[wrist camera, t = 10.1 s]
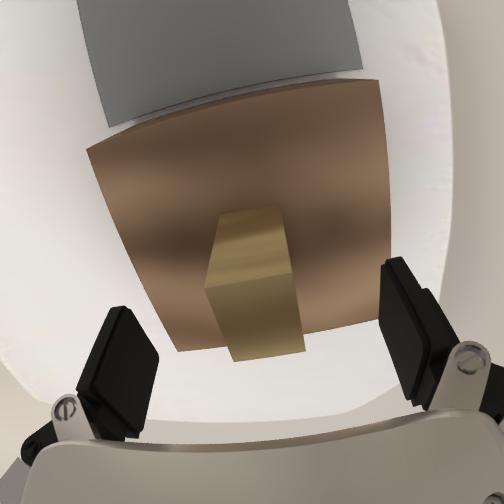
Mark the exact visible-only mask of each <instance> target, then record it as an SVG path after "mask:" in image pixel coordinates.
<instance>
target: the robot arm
mask: <svg viewBox="0 0 504 504" xmlns="http://www.w3.org/2000/svg"><path fill="white" fill-rule="evenodd" d="M378 320H379V326H380V329H381V332H382V334H383V337H384V339H385V342H386V345H387V347H388V350H389V353H390V356H391V358H392V361H393V364H394V367H395V369H396V372H397V375H398V378H399V381H400V384H401V387H402V390H403V393H404V396H405V398H406V400H411V402H412V405H413V407H415V406H418V405H422V408H423V410H425V412H420V413H415V414H410V415H407V416H402V417H397V418H393V419H390V420H385V421H381V422H377V423H373V424H368V425H364V426H360V427H354V428H349V429H344V430H339V431H333V432H328V433H322V434H317V435H310V436H303V437H296V438H289V439H279V440H270V441H261V442H247V443H232V444H201V445H200V444H199V445H198V444H197V445H185V444H183V445H181V444H180V445H179V444H149V443H135V442H125V437H127V438H135V439H138V438H139V434H140V432H141V431H142V430H143V428H144V424H145V419H146V415H147V410H148V406H149V401H150V397H151V393H152V388H153V384H154V380H155V376H156V372H157V367H158V363H159V355H158V353H157V351H156V349H155V348H154V346H153V345H152V343H151V341H150V340H149V338H148V337H147V335H146V333H145V332H144V330H143V329H142V327H141V325H140V324H139V322H138V320H137V319H136V317H135V315H134V314H133V312H132V310H131V309H128V308H127V307H126V306H118V307H112V308H111V309H110V310H109V312H108V314H107V317H106V319H105V321H104V323H103V325H102V327H101V330H100V332H99V334H98V336H97V339H96V341H95V343H94V346H93V348H92V350H91V353H90V355H89V357H88V360H87V362H86V364H85V367H84V369H83V372H82V374H81V377H80V379H79V382H78V384H77V387H76V389H75V390H76V391H77V392H78V394H77V396H76V395H74V394H65V395H63V396H61V397H60V398H59V399H58V400H57V401H56V402H55V403H54V405H53V407H52V412H51V417H52V420H51V421H50V422H49V423H47V424H46V425H45V426H43V427H42V428H40V429H39V430H38V431H36V432H35V433H34V434H32V435H31V436H30V437H28V438H27V439H26V440H25V441H24V443H23V445H22V448H21V458H19V457H18V458H17V459H16V460H15V461H14V463H13V464H12V465H11V466H10V468H9V469H8V470H7V472H6V473H5V474H4V475H3V477H2V478H1V479H0V503H1V504H504V367H501V366H499V365H496V364H493V363H491V357H490V354H489V352H488V351H487V349H486V348H485V347H484V346H482V345H481V344H479V343H477V342H473V341H464V342H461V343H460V341H459V339H458V337H457V335H456V334H455V332H454V330H453V328H452V326H451V325H450V323H449V321H448V319H447V318H446V316H445V314H444V313H443V311H442V309H441V308H440V306H439V304H438V303H437V301H436V299H435V298H434V296H433V294H432V293H431V291H430V290H429V289H428V288H424V289H422V288H421V286H420V285H419V283H418V281H417V280H416V278H415V277H414V275H413V273H412V272H411V270H410V269H409V267H408V266H407V264H406V263H405V261H404V259H403V258H402V257H395V258H390V259H386V261H385V264H382V265H381V270H380V299H379V316H378ZM487 497H488V498H487Z"/></svg>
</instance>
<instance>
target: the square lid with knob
mask: <svg viewBox="0 0 504 504" xmlns="http://www.w3.org/2000/svg"><path fill="white" fill-rule="evenodd" d="M86 150H87V153H88V156H89V159H90V162H91V165H92V167H93V170H94V173H95V176H96V178H97V181H98V184H99V186H100V189H101V191H102V194H103V196H104V199H105V202H106V204H107V206H108V209H109V211H110V214H111V216H112V219H113V221H114V223H115V226H116V228H117V230H118V233H119V235H120V237H121V240H122V242H123V244H124V246H125V249H126V251H127V253H128V255H129V257H130V260H131V262H132V264H133V266H134V268H135V270H136V272H137V275H138V277H139V279H140V281H141V283H142V285H143V287H144V289H145V291H146V293H147V295H148V297H149V299H150V301H151V303H152V305H153V307H154V309H155V311H156V313H157V314H158V316H159V318H160V320H161V322H162V324H163V326H164V328H165V329H166V331H167V333H168V335H169V337H170V339H171V340H172V342H173V344H174V346H175V348H176V349H177V351H178V352H181V351H191V350H201V349H209V348H218V347H226V346H227V347H228V349H229V352H230V354H231V356H232V359H233V361H234V362H238V361H246V360H253V359H260V358H267V357H274V356H280V355H286V354H293V353H298V352H304V351H306V350H305V343H304V337H303V334H309V333H314V332H319V331H325V330H330V329H335V328H339V327H344V326H349V325H354V324H358V323H363V322H367V321H372V320H376V319H378V316H379V299H380V270H381V265H382V264H385V261H386V259H390V258H391V207H390V184H389V168H388V155H387V143H386V134H385V125H384V116H383V109H382V101H381V94H380V88H379V82H378V80H370V79H341V78H339V79H330V80H322V81H315V82H307V83H301V84H294V85H288V86H283V87H277V88H272V89H266V90H261V91H256V92H252V93H247V94H242V95H238V96H234V97H229V98H225V99H221V100H217V101H213V102H209V103H206V104H202V105H198V106H195V107H191V108H188V109H184V110H181V111H177V112H174V113H171V114H168V115H165V116H161V117H158V118H155V119H152V120H149V121H146V122H143V123H141V124H138V125H135V126H132V127H130V128H128V129H126V130H124V131H122V132H120V133H117V134H115V135H113V136H111V137H109V138H107V139H105V140H103V141H101V142H99V143H97V144H95V145H93V146H91V147H90V148H88V149H86Z"/></svg>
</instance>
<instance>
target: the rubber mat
mask: <svg viewBox="0 0 504 504" xmlns="http://www.w3.org/2000/svg"><path fill="white" fill-rule="evenodd" d="M77 5H78V10H79V15H80V20H81V24H82V29H83V33H84V38H85V42H86V46H87V51H88V55H89V59H90V63H91V67H92V70H93V74H94V78H95V82H96V85H97V89H98V92H99V96H100V99H101V103H102V106H103V110H104V113H105V116H106V119H107V123H108V126H109V128H110V127H112V126H115V125H117V124H120V123H123V122H125V121H128V120H131V119H133V118H136V117H139V116H142V115H145V114H148V113H151V112H153V111H156V110H160V109H163V108H166V107H169V106H172V105H175V104H179V103H182V102H185V101H189V100H192V99H196V98H199V97H203V96H207V95H210V94H214V93H218V92H222V91H226V90H231V89H235V88H239V87H244V86H248V85H253V84H258V83H263V82H268V81H273V80H279V79H285V78H291V77H297V76H304V75H311V74H318V73H326V72H335V71H345V70H357V69H363V66H362V61H361V56H360V51H359V46H358V42H357V37H356V33H355V29H354V24H353V20H352V16H351V12H350V8H349V5H348V1H347V0H77Z"/></svg>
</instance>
